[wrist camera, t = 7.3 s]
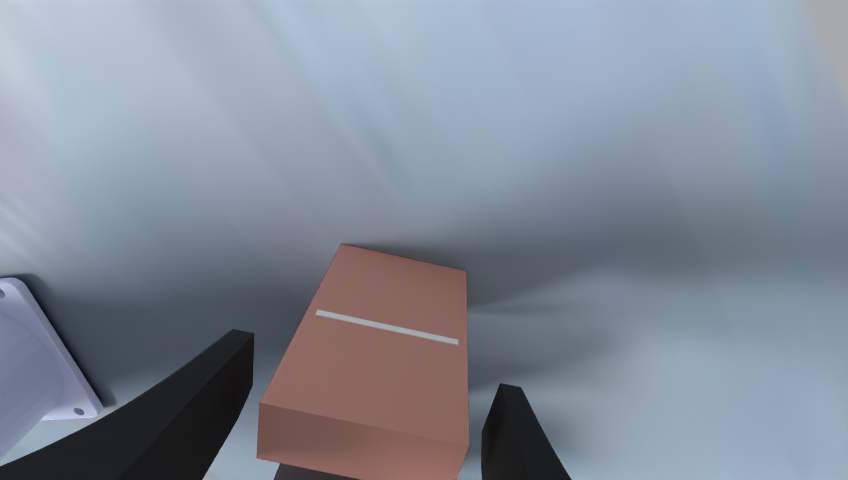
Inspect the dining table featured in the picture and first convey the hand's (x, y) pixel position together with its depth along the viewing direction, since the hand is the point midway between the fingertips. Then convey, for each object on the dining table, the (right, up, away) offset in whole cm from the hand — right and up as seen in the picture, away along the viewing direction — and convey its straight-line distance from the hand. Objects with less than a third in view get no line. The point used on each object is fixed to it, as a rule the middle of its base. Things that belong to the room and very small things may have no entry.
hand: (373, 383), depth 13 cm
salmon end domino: (0, +3, +5) cm, 6 cm away
